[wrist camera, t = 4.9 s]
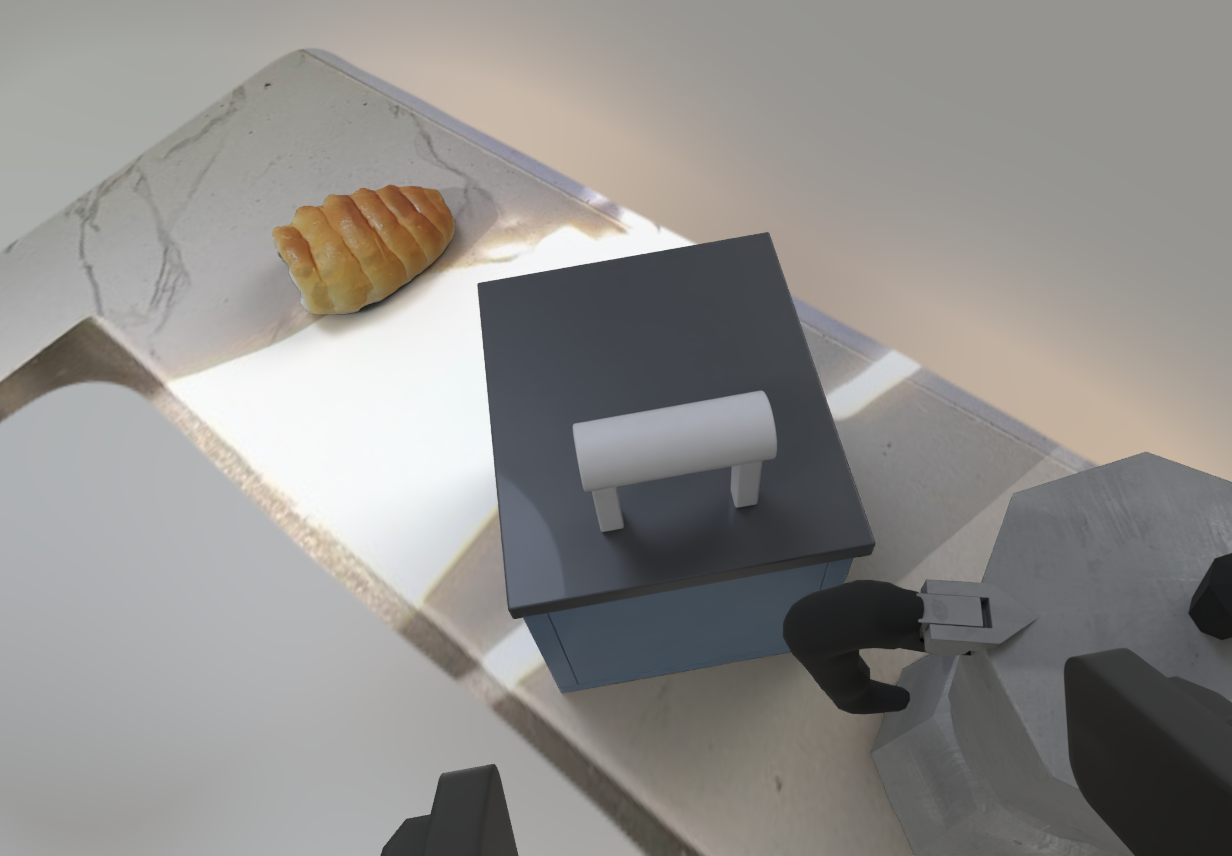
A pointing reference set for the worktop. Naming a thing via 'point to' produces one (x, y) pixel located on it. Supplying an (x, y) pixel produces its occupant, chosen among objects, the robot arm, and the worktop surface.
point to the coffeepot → (1029, 652)
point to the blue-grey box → (676, 628)
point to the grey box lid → (659, 428)
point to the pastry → (363, 245)
